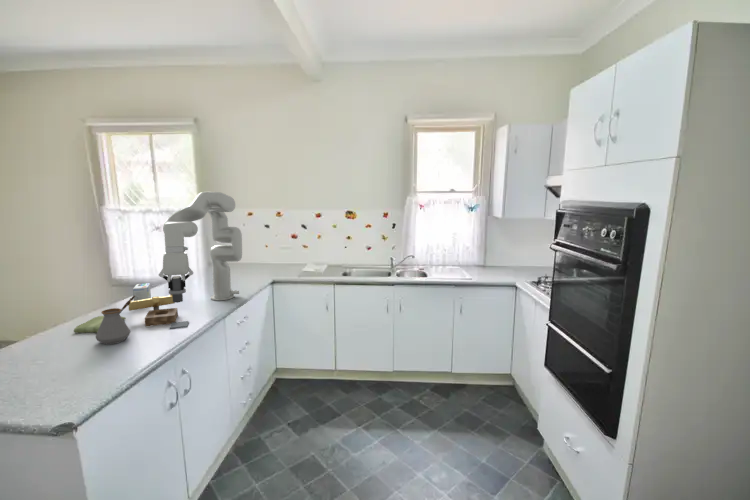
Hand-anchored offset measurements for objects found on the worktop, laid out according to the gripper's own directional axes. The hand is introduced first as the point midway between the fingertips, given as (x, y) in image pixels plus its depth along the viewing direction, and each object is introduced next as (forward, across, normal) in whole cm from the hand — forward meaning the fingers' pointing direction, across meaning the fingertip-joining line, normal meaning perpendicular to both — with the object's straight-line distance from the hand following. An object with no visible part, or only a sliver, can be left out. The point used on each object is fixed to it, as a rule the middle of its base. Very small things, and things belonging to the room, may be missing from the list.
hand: (177, 289), depth 159 cm
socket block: (+17, +8, -11) cm, 22 cm away
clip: (+12, +13, -16) cm, 24 cm away
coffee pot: (+18, +21, +5) cm, 28 cm away
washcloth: (+18, +32, -11) cm, 39 cm away
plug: (+6, 0, 0) cm, 6 cm away
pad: (+17, 0, 0) cm, 17 cm away
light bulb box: (+18, +21, -42) cm, 50 cm away
